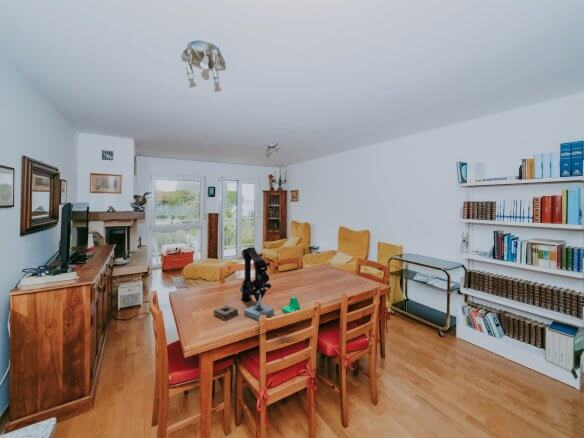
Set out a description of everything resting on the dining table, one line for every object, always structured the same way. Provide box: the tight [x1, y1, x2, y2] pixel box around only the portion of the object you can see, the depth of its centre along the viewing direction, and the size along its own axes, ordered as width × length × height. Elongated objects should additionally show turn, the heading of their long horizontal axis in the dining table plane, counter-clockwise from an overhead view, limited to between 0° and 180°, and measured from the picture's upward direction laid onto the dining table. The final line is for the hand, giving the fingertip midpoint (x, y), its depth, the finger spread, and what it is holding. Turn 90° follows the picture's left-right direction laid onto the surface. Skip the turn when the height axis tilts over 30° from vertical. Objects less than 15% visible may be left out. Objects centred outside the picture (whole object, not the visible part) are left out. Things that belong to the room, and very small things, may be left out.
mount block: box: [213, 304, 239, 320], centre depth 167 cm, size 11×11×3 cm
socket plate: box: [243, 303, 274, 321], centre depth 169 cm, size 14×14×3 cm
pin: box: [256, 292, 262, 309], centre depth 168 cm, size 3×3×10 cm
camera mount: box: [281, 296, 302, 314], centre depth 172 cm, size 12×8×10 cm, turn 42°
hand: (258, 301), depth 168 cm, fingers closed on pin, 3 cm apart
